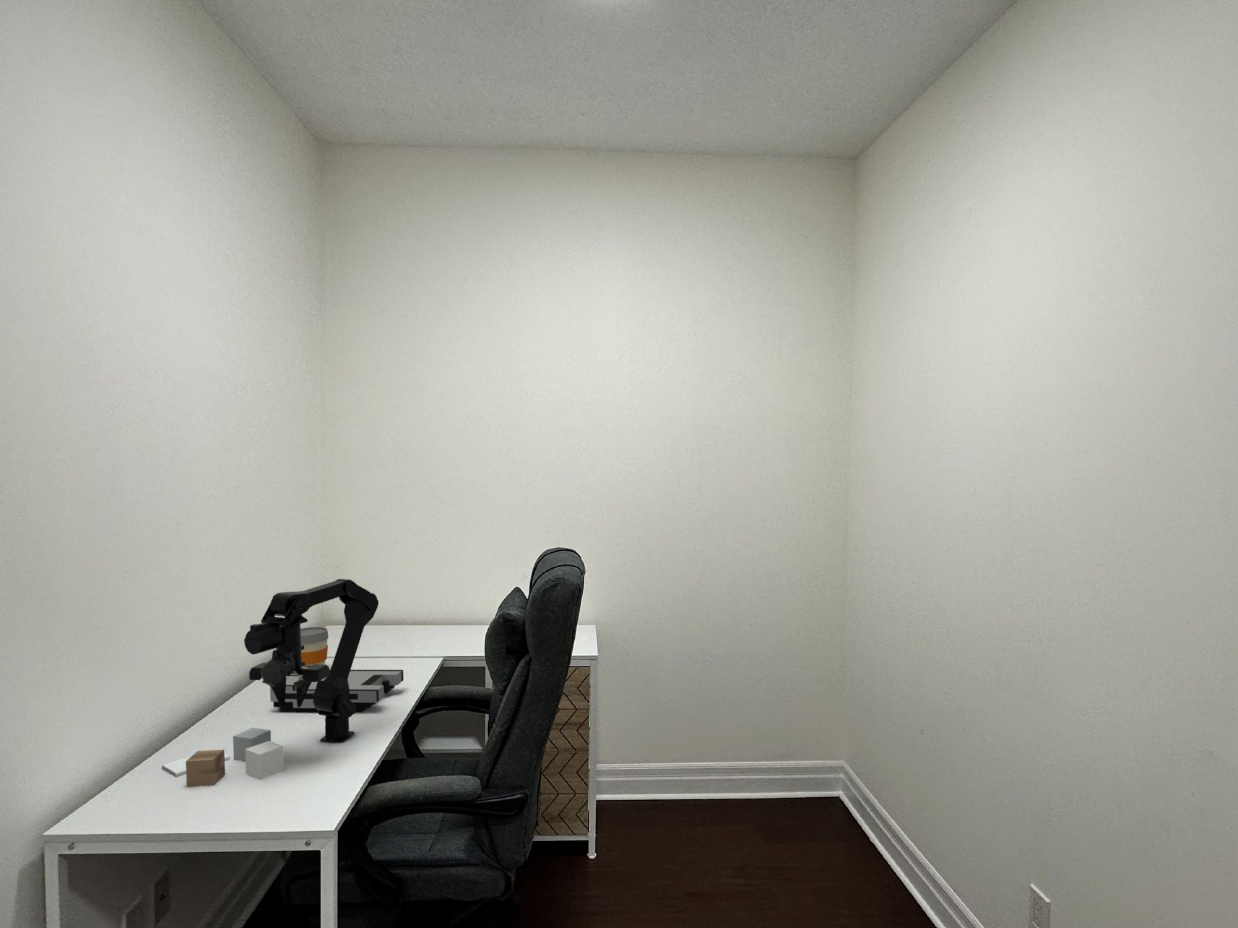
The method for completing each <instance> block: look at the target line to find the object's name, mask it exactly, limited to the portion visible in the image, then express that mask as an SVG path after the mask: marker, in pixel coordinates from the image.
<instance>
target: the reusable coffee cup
mask: <svg viewBox="0 0 1238 928" xmlns="http://www.w3.org/2000/svg"><path fill="white" fill-rule="evenodd" d="M328 631H329V630H328V628H327V627H324V626H310V627H303V628H301V645H304V650H302V651H301V655H302V661H305V666H312V665H314V664H322V665H326V660H327V658H328V650H329V645H328V639H329V633H328ZM303 667H304V666H303Z"/></svg>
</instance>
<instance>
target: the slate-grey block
mask: <svg viewBox="0 0 1238 928" xmlns="http://www.w3.org/2000/svg"><path fill="white" fill-rule="evenodd" d="M271 736H272V732H271V729H267V728H265V729H264V728H258V727H251V728H249V729H246V730H244V731H241V732H239V733H237V734H234V735H232V745H233V746H232V748H233V760H234V761H240V762H245V763H246V755H245V749H247V748H250V747H253V746H256V745H259V744H261V743H264V742H267V741H271V742H272V737H271Z"/></svg>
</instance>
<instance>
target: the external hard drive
mask: <svg viewBox="0 0 1238 928" xmlns="http://www.w3.org/2000/svg"><path fill="white" fill-rule="evenodd" d="M212 750H218V749H217V748H214V749H212ZM224 756H225V762H227V761H230V759H231V758H230V755H229V754H227V753H225V752H224ZM190 757H191V756H188V757H184V758H182V759H179V760H175V761H172V762H169V763H165V764H162V765H161V769H162V771H165V772H166V773H168V774H170V775H171V776H173V777H175V778H178V777H181V776H185V775H186V761H187V760H188V759H189V758H190Z"/></svg>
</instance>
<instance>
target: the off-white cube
mask: <svg viewBox="0 0 1238 928" xmlns="http://www.w3.org/2000/svg"><path fill="white" fill-rule="evenodd" d="M245 755H246V762H245V773H246V775H249V776H251V777H253V778H254V779H255V778H256V779H258V780H262V779H264V778H267V777H270V776H273V775H276V774H278V773H280V772H282V771H285V765H284V762H285V761H284V745H283V744H282V745H281V744H279V743H276V742H273V741H272V740H271V741H267V742H264V743H261V744H259V745H256V746H253V747H250V748H247V749H245Z"/></svg>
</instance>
